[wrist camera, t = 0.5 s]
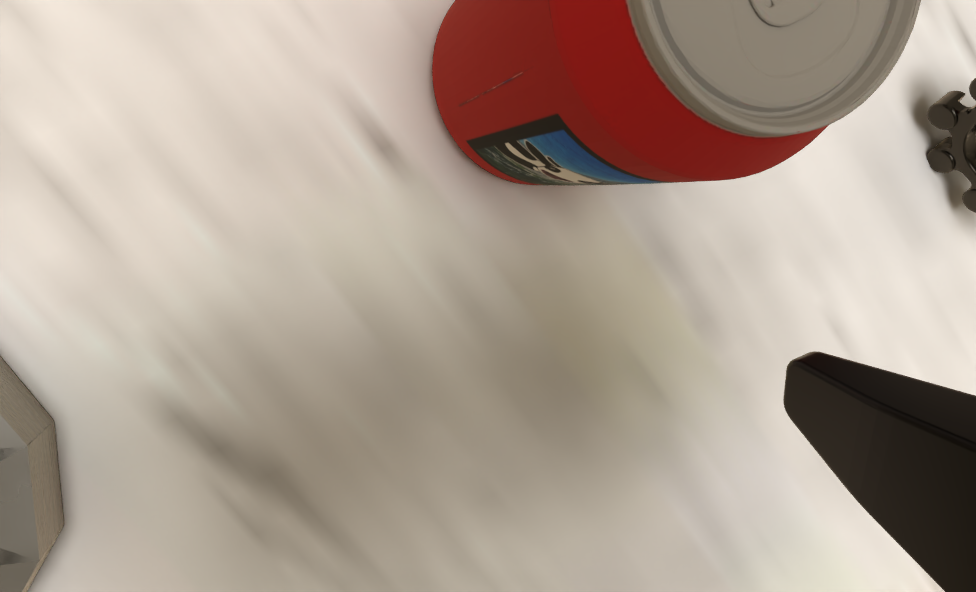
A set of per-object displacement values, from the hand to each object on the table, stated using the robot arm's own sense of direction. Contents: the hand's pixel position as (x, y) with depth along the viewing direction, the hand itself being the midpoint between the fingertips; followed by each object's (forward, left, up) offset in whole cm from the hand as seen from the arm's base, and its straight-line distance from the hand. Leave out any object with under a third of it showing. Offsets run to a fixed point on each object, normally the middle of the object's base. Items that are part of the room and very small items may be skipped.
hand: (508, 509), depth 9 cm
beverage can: (+4, -8, -14) cm, 16 cm away
